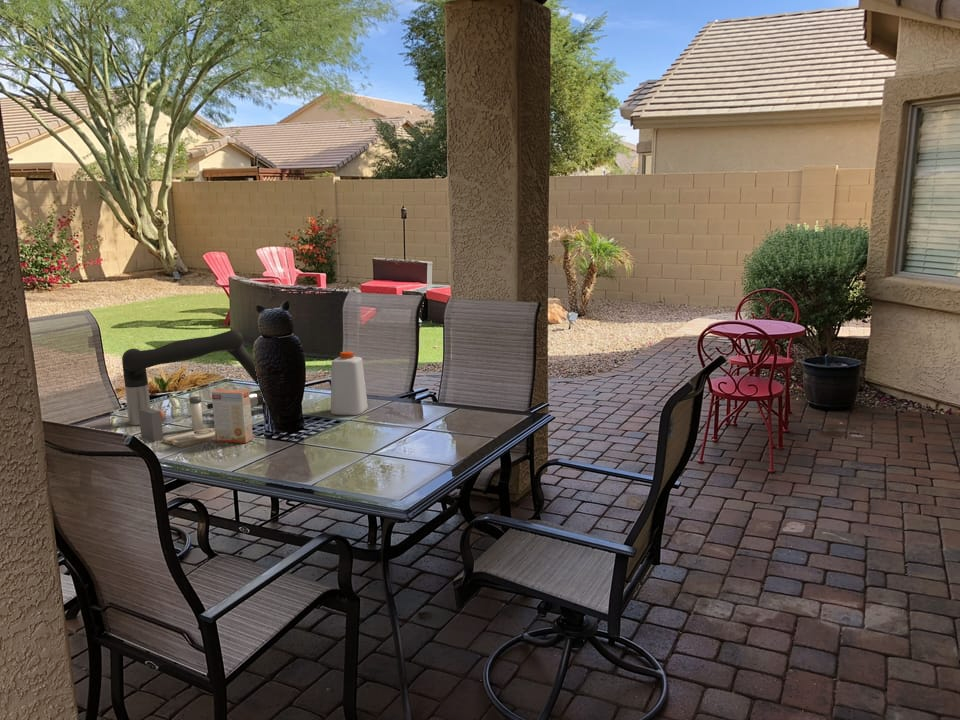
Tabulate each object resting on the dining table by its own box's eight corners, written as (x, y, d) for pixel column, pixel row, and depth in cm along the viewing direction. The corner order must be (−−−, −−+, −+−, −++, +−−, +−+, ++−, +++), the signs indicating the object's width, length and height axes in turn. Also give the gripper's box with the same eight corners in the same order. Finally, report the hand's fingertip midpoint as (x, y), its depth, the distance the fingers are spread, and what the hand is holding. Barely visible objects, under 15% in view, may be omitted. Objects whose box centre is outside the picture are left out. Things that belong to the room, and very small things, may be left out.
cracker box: (253, 439, 306) (250, 389, 302) (245, 444, 300) (241, 393, 297) (224, 437, 310) (219, 388, 306) (215, 441, 304) (210, 391, 300)
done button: (155, 420, 312) (154, 410, 312) (159, 419, 314) (158, 409, 313) (161, 421, 310) (160, 411, 309) (165, 420, 311) (164, 410, 310)
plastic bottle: (360, 416, 340) (357, 355, 335) (328, 415, 342) (324, 355, 337) (370, 408, 355) (367, 349, 349) (339, 407, 357) (336, 349, 352)
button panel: (141, 437, 311) (138, 409, 309) (151, 435, 315) (148, 407, 312) (154, 441, 305) (151, 413, 303) (164, 439, 309) (161, 411, 306)
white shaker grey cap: (190, 429, 322) (187, 398, 320) (199, 427, 326) (196, 395, 323) (196, 431, 320) (193, 399, 317) (205, 428, 323) (203, 397, 321)
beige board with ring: (162, 441, 305) (162, 437, 305) (206, 430, 321) (206, 426, 320) (181, 447, 297) (181, 443, 296) (225, 435, 312) (225, 432, 312)
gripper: (235, 390, 344) (203, 397, 331) (253, 394, 335) (222, 402, 323) (236, 406, 345) (204, 414, 333) (255, 411, 337) (223, 418, 324)
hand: (213, 408), depth 328 cm, fingers open, 8 cm apart
